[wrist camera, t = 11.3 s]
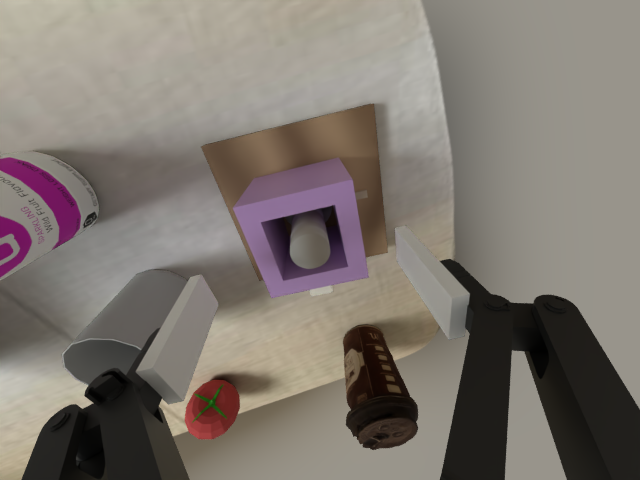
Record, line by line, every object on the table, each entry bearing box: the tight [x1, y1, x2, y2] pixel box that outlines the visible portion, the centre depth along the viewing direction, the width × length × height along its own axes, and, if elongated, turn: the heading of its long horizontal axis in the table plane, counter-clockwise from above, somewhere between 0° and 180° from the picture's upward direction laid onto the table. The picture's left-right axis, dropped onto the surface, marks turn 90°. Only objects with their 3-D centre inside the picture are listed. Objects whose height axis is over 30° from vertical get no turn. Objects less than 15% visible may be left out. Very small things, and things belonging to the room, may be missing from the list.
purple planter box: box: [233, 157, 369, 298], centre depth 23 cm, size 10×8×8 cm
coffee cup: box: [343, 325, 418, 450], centre depth 33 cm, size 9×8×13 cm
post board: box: [201, 104, 388, 281], centre depth 23 cm, size 16×16×10 cm
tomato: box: [185, 380, 240, 439], centre depth 38 cm, size 8×8×8 cm
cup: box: [62, 270, 188, 386], centre depth 28 cm, size 8×8×10 cm
